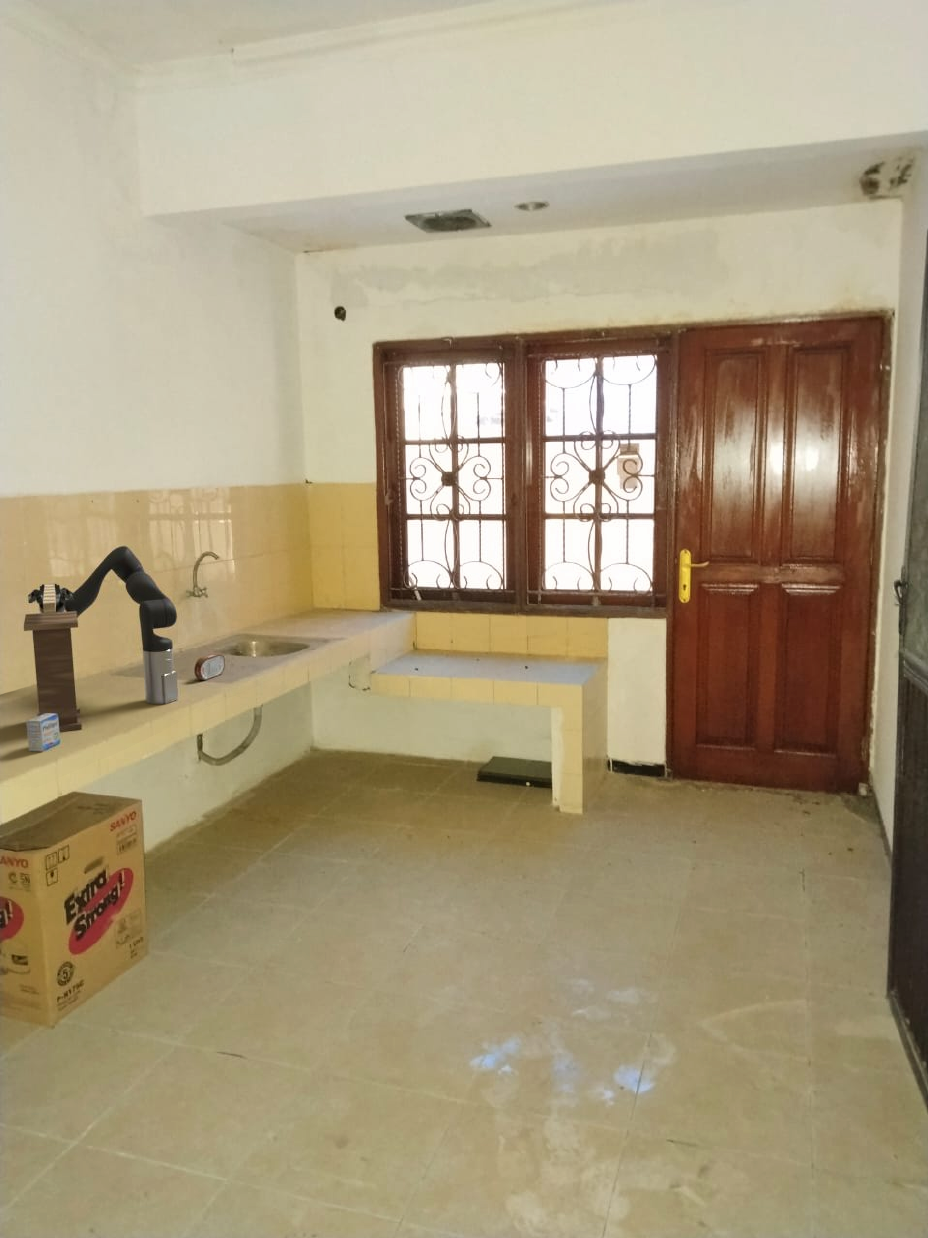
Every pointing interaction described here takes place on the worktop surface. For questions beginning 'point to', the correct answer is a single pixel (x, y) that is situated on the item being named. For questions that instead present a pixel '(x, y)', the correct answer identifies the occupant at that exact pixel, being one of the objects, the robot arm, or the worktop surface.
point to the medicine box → (43, 732)
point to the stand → (55, 666)
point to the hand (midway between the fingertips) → (49, 586)
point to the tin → (209, 666)
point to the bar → (49, 599)
